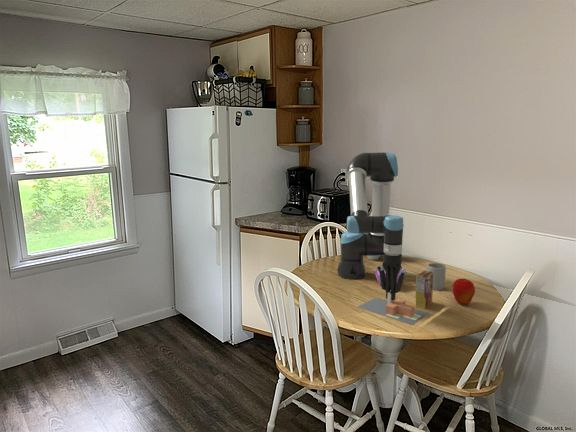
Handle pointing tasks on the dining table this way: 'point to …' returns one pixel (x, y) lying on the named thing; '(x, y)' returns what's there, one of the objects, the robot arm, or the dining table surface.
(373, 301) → the plate
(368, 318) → the dining table surface
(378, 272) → the teapot
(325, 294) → the dining table surface
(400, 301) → the t block
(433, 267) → the mug
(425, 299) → the candy box
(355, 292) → the dining table surface
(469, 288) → the apple
